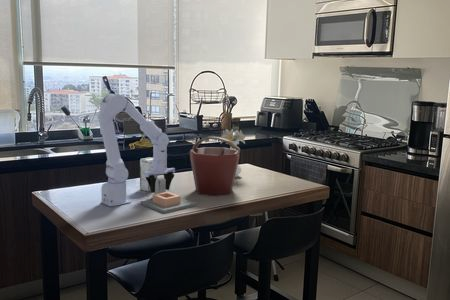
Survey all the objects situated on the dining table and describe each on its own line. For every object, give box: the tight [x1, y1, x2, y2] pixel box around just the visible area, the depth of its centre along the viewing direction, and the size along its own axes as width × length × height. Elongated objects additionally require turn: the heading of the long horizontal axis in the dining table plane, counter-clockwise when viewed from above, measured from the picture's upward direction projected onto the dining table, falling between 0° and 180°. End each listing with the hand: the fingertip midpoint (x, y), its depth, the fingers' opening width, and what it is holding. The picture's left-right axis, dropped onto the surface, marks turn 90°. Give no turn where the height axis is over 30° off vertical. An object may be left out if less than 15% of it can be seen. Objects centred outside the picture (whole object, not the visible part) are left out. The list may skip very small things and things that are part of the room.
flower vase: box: [220, 128, 246, 178], centre depth 236 cm, size 13×18×25 cm
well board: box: [140, 191, 197, 214], centre depth 182 cm, size 16×16×4 cm
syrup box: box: [139, 156, 159, 192], centre depth 205 cm, size 6×6×14 cm
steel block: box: [154, 177, 167, 194], centre depth 194 cm, size 3×4×8 cm
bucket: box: [189, 136, 241, 197], centre depth 203 cm, size 24×22×25 cm
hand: (160, 191), depth 194 cm, fingers open, 7 cm apart
